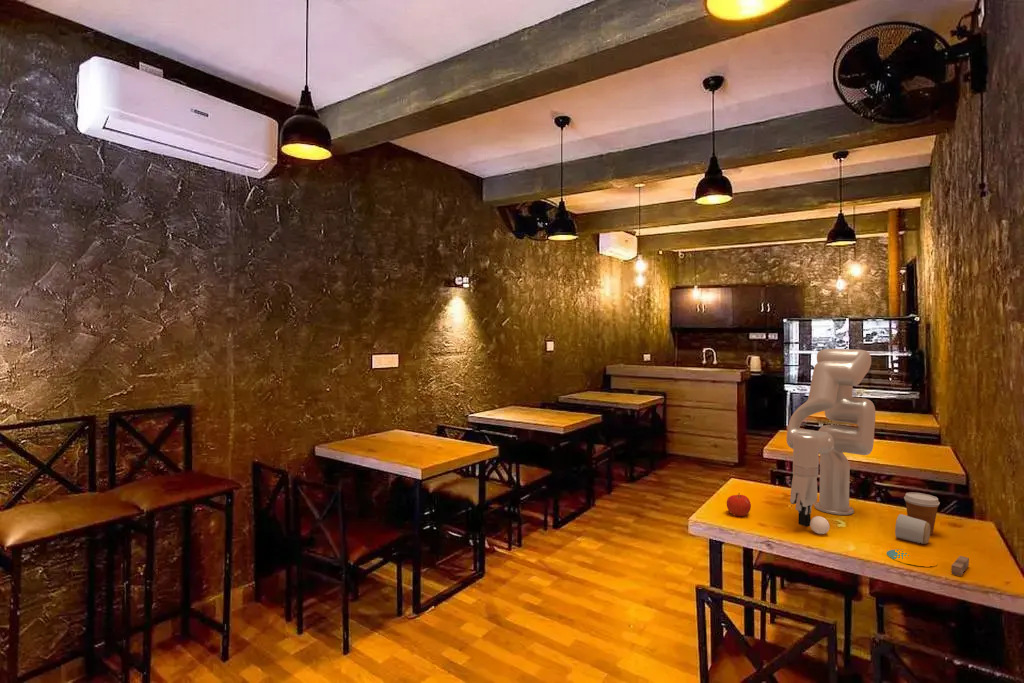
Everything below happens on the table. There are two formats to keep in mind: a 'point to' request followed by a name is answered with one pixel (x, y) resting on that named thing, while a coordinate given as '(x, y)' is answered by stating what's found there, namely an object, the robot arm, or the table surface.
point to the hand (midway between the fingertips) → (804, 525)
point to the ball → (819, 525)
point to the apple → (738, 505)
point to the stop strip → (960, 565)
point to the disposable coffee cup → (922, 507)
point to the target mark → (894, 554)
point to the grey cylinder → (912, 529)
